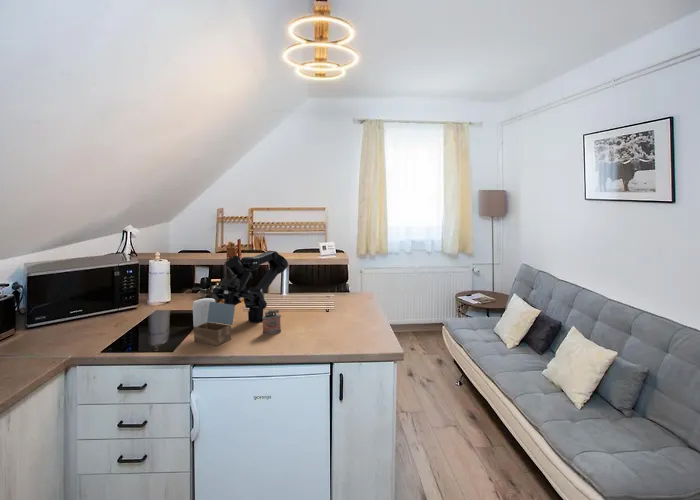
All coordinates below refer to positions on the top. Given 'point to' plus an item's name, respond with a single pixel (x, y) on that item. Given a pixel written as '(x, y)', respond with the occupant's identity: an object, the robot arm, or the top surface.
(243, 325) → the top surface
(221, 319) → the lid
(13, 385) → the top surface
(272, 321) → the lighter
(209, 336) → the walnut box
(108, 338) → the top surface
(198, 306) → the photo printer
